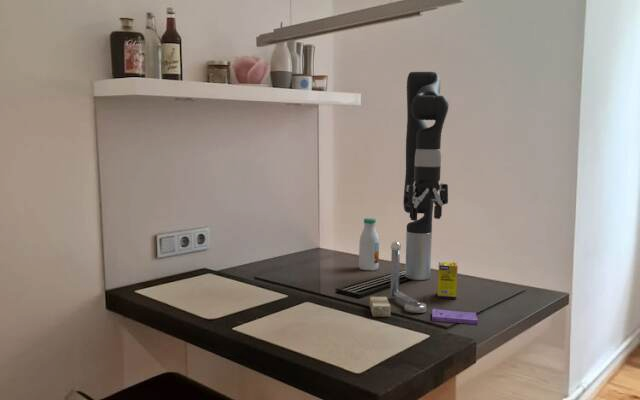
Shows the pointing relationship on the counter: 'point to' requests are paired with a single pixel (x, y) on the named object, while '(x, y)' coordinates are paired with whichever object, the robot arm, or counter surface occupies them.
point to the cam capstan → (411, 303)
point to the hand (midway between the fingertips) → (425, 219)
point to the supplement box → (447, 280)
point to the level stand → (380, 306)
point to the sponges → (454, 316)
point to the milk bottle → (369, 246)
